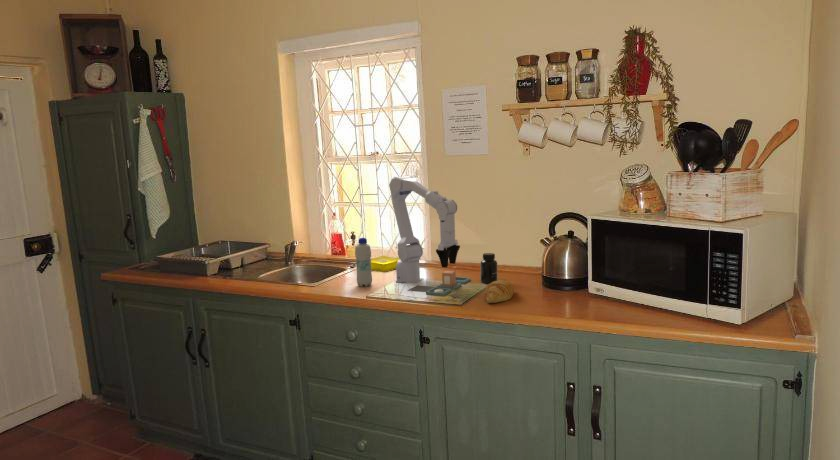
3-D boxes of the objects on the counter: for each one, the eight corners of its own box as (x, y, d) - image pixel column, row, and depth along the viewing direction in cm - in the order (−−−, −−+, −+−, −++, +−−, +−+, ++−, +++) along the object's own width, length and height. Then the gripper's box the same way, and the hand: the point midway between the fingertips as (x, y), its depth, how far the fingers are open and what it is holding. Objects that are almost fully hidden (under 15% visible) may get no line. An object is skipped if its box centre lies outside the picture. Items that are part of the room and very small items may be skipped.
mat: (406, 291, 224) (406, 290, 224) (417, 286, 232) (417, 285, 232) (427, 293, 220) (427, 292, 220) (437, 287, 228) (437, 287, 228)
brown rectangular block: (442, 287, 227) (442, 272, 226) (446, 285, 230) (446, 270, 229) (451, 288, 225) (451, 273, 224) (455, 286, 228) (455, 271, 228)
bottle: (375, 284, 239) (373, 236, 236) (367, 288, 233) (365, 239, 230) (361, 283, 241) (359, 236, 239) (353, 286, 235) (350, 238, 233)
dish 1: (426, 295, 217) (426, 291, 217) (434, 291, 224) (434, 287, 223) (443, 296, 214) (443, 293, 214) (451, 292, 220) (451, 288, 220)
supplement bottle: (497, 284, 230) (496, 255, 228) (479, 284, 231) (479, 255, 229) (498, 281, 236) (497, 252, 235) (481, 280, 238) (480, 252, 236)
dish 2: (437, 289, 226) (437, 285, 226) (444, 285, 232) (444, 281, 232) (454, 290, 223) (454, 287, 223) (461, 286, 229) (461, 283, 229)
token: (432, 293, 218) (432, 291, 218) (436, 291, 221) (436, 288, 221) (441, 294, 216) (441, 291, 216) (444, 291, 220) (444, 289, 219)
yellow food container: (406, 267, 273) (406, 257, 273) (384, 273, 262) (383, 262, 262) (384, 264, 283) (383, 254, 283) (361, 269, 272) (361, 259, 272)
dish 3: (447, 283, 235) (447, 280, 235) (454, 279, 241) (454, 276, 241) (463, 285, 232) (463, 281, 231) (470, 281, 238) (470, 277, 238)
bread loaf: (496, 315, 200) (506, 296, 197) (472, 300, 203) (482, 281, 201) (516, 299, 218) (525, 282, 215) (494, 285, 222) (502, 268, 219)
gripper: (449, 234, 216) (450, 269, 218) (464, 228, 229) (465, 262, 231) (432, 233, 219) (433, 268, 221) (447, 228, 232) (448, 261, 234)
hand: (448, 265), depth 226 cm, fingers open, 7 cm apart
